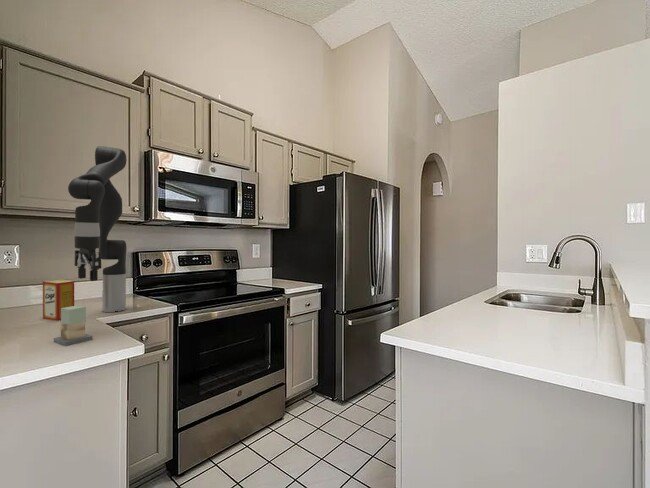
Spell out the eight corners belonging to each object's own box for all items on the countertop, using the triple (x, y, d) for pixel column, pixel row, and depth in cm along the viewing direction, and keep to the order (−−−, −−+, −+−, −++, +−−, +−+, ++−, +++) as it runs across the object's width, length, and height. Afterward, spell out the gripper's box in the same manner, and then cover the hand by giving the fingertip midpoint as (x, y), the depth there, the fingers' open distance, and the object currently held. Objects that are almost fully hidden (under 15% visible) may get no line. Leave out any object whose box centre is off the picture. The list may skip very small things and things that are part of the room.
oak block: (60, 337, 110) (60, 322, 110) (77, 333, 115) (77, 319, 114) (68, 340, 108) (68, 325, 108) (85, 336, 112) (85, 321, 112)
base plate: (53, 341, 110) (53, 338, 110) (80, 335, 117) (80, 332, 117) (65, 345, 106) (64, 342, 106) (92, 339, 113) (92, 335, 113)
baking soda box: (74, 317, 142) (74, 280, 141) (57, 320, 135) (57, 282, 135) (60, 315, 145) (59, 278, 144) (42, 318, 139) (42, 280, 138)
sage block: (61, 322, 110) (60, 308, 110) (77, 319, 115) (77, 305, 114) (69, 325, 108) (69, 309, 108) (85, 321, 112) (85, 307, 112)
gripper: (108, 235, 119) (109, 280, 120) (89, 234, 126) (89, 276, 127) (85, 236, 112) (85, 283, 113) (66, 234, 120) (66, 278, 120)
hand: (87, 279), depth 120 cm, fingers open, 8 cm apart
